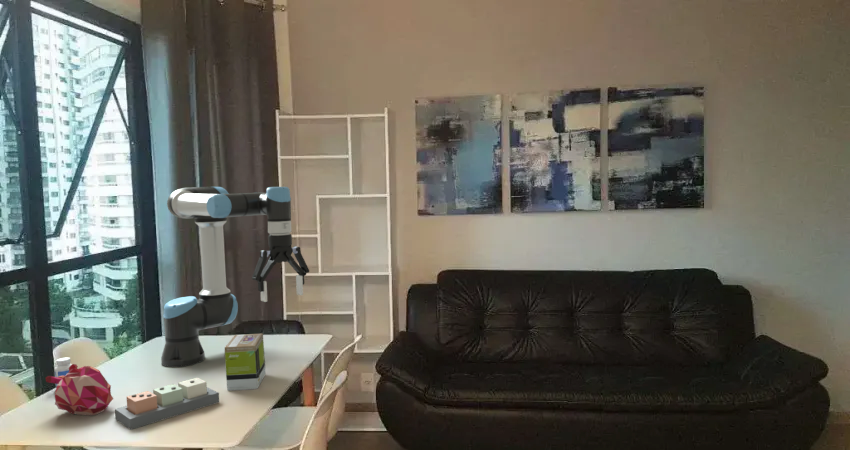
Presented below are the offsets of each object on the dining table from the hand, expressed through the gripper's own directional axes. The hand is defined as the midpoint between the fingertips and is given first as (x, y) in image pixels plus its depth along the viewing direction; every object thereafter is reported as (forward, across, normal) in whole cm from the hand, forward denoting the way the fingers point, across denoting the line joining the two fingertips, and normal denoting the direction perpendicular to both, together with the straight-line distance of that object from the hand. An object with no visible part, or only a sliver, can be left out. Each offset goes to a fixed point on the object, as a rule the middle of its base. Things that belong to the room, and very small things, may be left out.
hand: (282, 297), depth 200 cm
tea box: (+28, -10, +8) cm, 31 cm away
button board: (+28, -37, +4) cm, 47 cm away
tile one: (+26, -30, +4) cm, 40 cm away
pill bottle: (+28, -53, +49) cm, 78 cm away
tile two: (+26, -37, +4) cm, 45 cm away
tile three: (+26, -45, +4) cm, 52 cm away
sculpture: (+28, -55, +23) cm, 66 cm away
